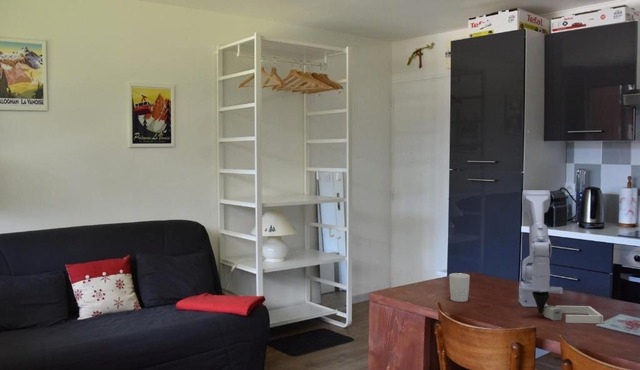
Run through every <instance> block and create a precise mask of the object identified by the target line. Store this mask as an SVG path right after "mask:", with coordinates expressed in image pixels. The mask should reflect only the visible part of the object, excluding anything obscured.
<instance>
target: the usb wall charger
mask: <svg viewBox="0 0 640 370" xmlns="http://www.w3.org/2000/svg"><path fill="white" fill-rule="evenodd" d="M543 316H544V318H547V319H549V320H551V321H561V320H562V318H563V313H562V309H561V308H558V307H556V305H555V306H554V305H551V304H550V305H549V306H545V307H544V309H543Z"/></svg>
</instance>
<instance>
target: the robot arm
mask: <svg viewBox="0 0 640 370" xmlns="http://www.w3.org/2000/svg"><path fill="white" fill-rule="evenodd" d="M521 200H522V201H521V203H522V212H524V213H526V214H527V216H528V221H529V222H528V224H529V228H528V229H529V235H528V237H529V255H528V256H527V257H525V258H524V259H522V261H521V263H522V264H521V265H522V266H521V279H523V281H519V284H518V285H519V286H518V302H519V303H520V305H521V306H522V307H527V308H528V307H530V308H533V307H534V308H537V313H538V314H541V315H542V314H543V315H544V311H543V309H544V307H545V306H550V305H548V303H547V301H548V300H549V298H550V294H561V295H563V293H564V292H563V289H564V288H563V287H562V286H551V285H550V280H551V267H550V259H551V257H552V243H551V240H550V237H549V230H548V229H549V228H548V226H547V225H546V224H545V213H548V211H549V209H550V205H551V192H550V190H549V189H546V190H542V189H541V190H540V189H539V190H537V189H536V190H535V189H534V190H533V189H529V190H528V189H524V190H522V195H521Z"/></svg>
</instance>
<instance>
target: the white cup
mask: <svg viewBox="0 0 640 370" xmlns="http://www.w3.org/2000/svg"><path fill="white" fill-rule="evenodd" d="M448 277H449V292H450V300H451V301H453V302H458V303H459V302H460V303H464V302H468V300H469V291H470V277H471V276H470V274H467V273H463V272H462V273H461V272H459V273H458V272H454V273H452V272H451V273H450V274H448Z"/></svg>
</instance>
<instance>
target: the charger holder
mask: <svg viewBox="0 0 640 370" xmlns="http://www.w3.org/2000/svg"><path fill="white" fill-rule="evenodd" d="M555 307H558V308H561V309H562V314H565V323H569V324H570V323H571V324H604V315H603V314H601V312H598V311H597V310H596V309H594V308H593V307H592V306H589V305H555Z"/></svg>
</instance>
